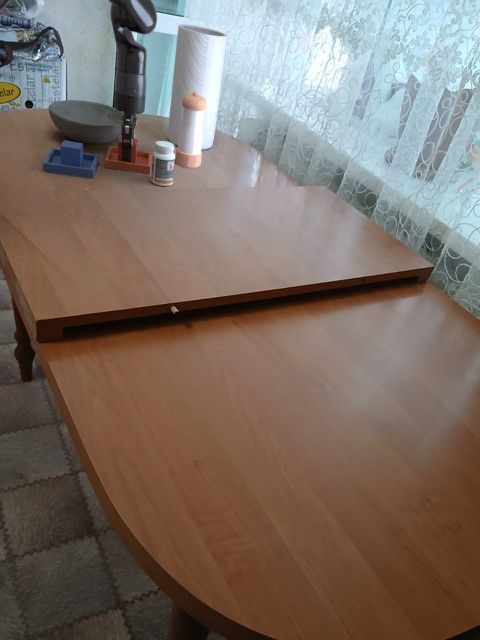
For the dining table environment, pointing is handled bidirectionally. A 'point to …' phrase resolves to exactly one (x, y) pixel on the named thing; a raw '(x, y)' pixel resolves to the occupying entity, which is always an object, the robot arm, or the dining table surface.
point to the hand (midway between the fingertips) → (127, 158)
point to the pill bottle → (163, 164)
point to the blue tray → (54, 166)
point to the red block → (133, 151)
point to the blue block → (72, 153)
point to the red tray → (140, 166)
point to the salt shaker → (191, 131)
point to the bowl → (86, 120)
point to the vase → (197, 77)
